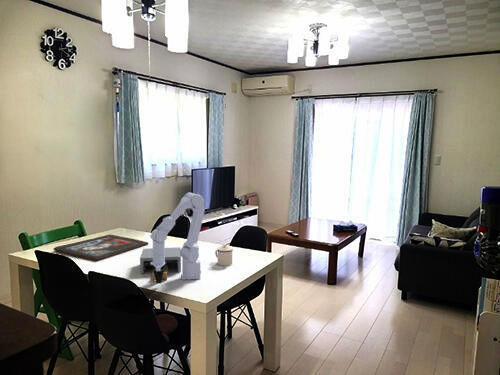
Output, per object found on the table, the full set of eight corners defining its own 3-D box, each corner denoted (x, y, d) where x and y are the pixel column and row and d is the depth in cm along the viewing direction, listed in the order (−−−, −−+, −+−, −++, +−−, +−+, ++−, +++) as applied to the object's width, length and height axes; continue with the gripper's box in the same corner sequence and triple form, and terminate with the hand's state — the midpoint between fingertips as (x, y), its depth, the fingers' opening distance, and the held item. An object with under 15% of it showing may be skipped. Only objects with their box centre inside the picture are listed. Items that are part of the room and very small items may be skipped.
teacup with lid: (235, 263, 214) (236, 244, 213) (225, 267, 207) (225, 247, 206) (220, 259, 222) (220, 240, 220) (210, 262, 214) (210, 243, 213)
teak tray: (167, 269, 201) (167, 260, 201) (166, 280, 186) (166, 269, 185) (154, 270, 200) (154, 260, 199) (152, 281, 185) (152, 270, 184)
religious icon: (51, 252, 231) (51, 247, 230) (108, 237, 270) (108, 233, 270) (95, 263, 212) (95, 258, 212) (149, 246, 252) (149, 241, 252)
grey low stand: (180, 261, 216) (180, 247, 215) (180, 272, 198) (180, 256, 197) (143, 263, 212) (143, 248, 211) (140, 274, 194) (140, 258, 193)
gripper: (151, 249, 185) (151, 275, 187) (149, 258, 171) (149, 286, 173) (165, 249, 187) (166, 274, 188) (164, 257, 172) (165, 285, 174)
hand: (159, 280), depth 181 cm, fingers open, 7 cm apart
